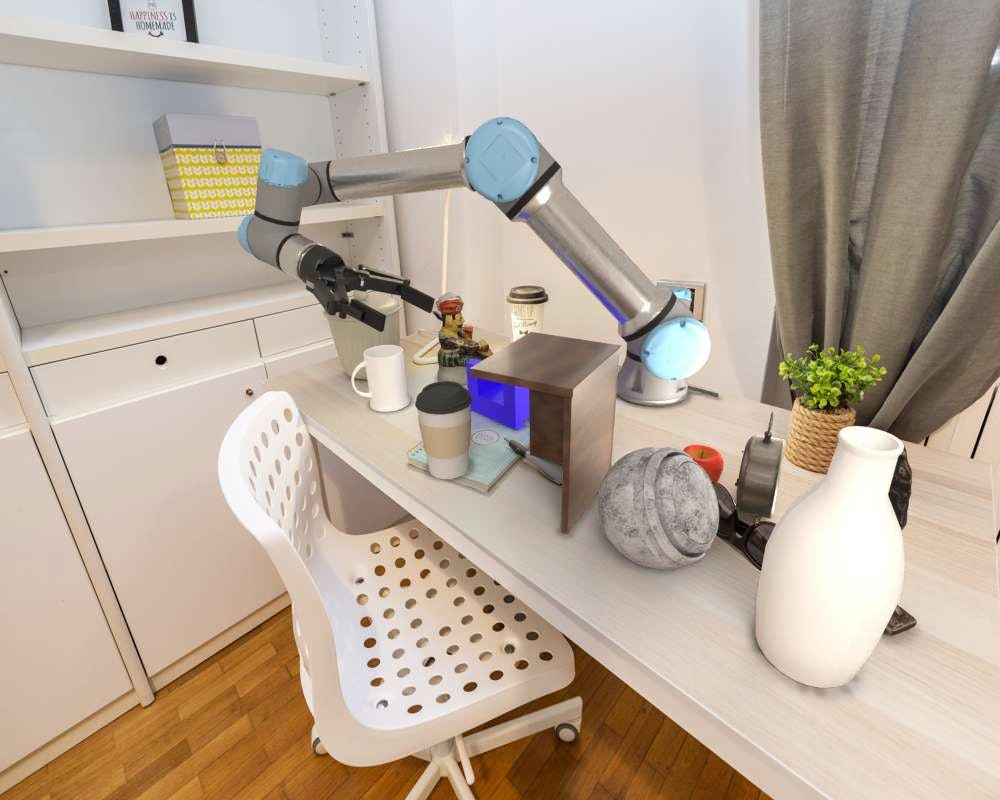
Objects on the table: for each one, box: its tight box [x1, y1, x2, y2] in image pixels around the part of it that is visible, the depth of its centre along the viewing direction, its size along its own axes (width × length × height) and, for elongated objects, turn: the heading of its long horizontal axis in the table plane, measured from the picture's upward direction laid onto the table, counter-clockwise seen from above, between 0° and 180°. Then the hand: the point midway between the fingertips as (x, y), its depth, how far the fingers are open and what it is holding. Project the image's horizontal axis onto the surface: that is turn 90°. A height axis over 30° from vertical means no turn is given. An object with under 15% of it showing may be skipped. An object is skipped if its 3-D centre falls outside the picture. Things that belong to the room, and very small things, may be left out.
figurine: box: [432, 292, 494, 386], centre depth 119 cm, size 12×15×20 cm
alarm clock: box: [734, 411, 786, 525], centre depth 71 cm, size 11×5×16 cm, turn 148°
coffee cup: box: [414, 381, 472, 480], centre depth 84 cm, size 9×9×15 cm
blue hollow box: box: [466, 359, 529, 431], centre depth 107 cm, size 21×14×10 cm, turn 134°
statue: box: [884, 445, 918, 636], centre depth 53 cm, size 4×7×20 cm, turn 22°
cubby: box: [469, 331, 623, 535], centre depth 76 cm, size 15×18×22 cm
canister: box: [322, 290, 403, 381], centre depth 123 cm, size 18×18×21 cm
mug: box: [350, 345, 411, 413], centre depth 108 cm, size 12×8×12 cm
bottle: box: [754, 425, 906, 689], centre depth 48 cm, size 11×11×25 cm
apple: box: [682, 444, 725, 484], centre depth 77 cm, size 6×6×8 cm
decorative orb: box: [597, 446, 720, 570], centre depth 64 cm, size 15×14×15 cm
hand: (409, 314), depth 86 cm, fingers open, 13 cm apart
